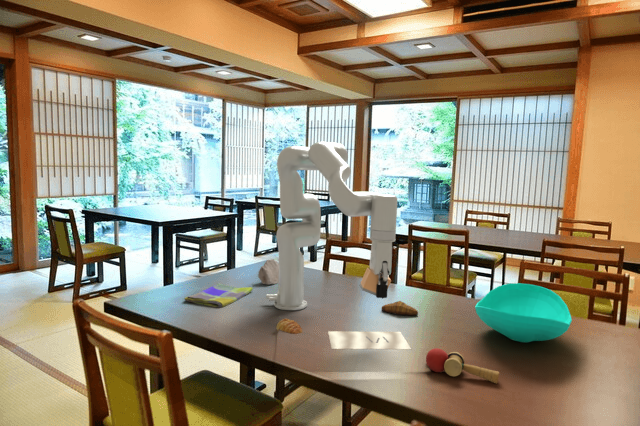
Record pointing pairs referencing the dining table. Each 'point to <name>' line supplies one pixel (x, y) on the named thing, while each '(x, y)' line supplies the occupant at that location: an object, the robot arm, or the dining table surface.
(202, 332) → the dining table surface
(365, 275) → the block
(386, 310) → the croissant
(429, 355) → the kendama
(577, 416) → the dining table surface
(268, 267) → the pumice stone
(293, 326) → the pastry
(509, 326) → the table top decor
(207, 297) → the dish towel
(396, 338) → the ash board
